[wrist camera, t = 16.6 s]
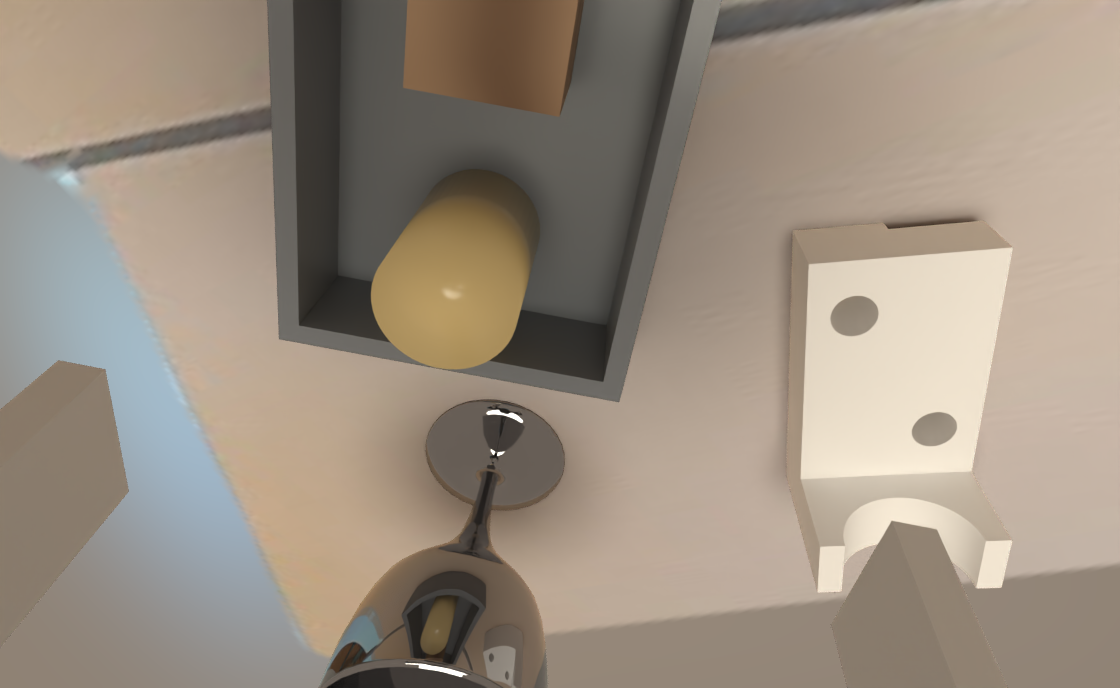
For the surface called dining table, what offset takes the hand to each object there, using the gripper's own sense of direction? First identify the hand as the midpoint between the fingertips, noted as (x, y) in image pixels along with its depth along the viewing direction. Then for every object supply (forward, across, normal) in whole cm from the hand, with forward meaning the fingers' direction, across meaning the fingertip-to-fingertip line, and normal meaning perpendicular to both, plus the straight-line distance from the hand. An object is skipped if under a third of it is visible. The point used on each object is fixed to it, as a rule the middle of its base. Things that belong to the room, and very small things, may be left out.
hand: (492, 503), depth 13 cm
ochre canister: (+19, -3, -4) cm, 20 cm away
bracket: (+20, +15, -7) cm, 26 cm away
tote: (+20, -3, 0) cm, 20 cm away
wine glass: (+20, -1, -16) cm, 26 cm away
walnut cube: (+20, -3, +5) cm, 20 cm away
